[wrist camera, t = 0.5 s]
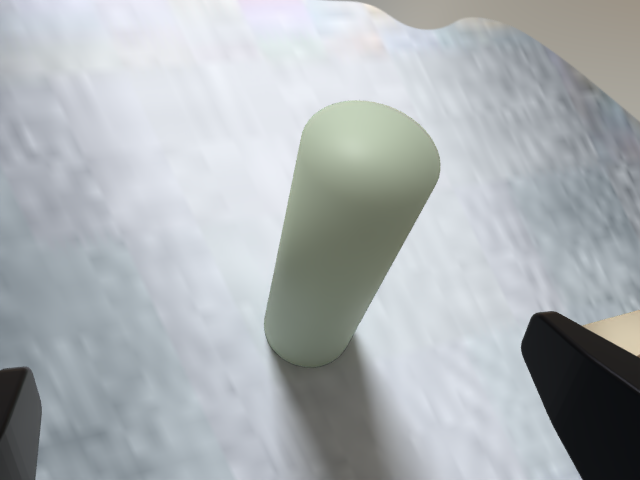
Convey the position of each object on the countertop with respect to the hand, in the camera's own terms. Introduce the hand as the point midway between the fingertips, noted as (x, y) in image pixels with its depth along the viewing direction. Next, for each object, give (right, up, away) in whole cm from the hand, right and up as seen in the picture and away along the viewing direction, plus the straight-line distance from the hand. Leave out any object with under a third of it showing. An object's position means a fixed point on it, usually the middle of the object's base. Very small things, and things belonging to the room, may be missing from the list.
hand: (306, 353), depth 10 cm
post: (0, -2, +18) cm, 18 cm away
